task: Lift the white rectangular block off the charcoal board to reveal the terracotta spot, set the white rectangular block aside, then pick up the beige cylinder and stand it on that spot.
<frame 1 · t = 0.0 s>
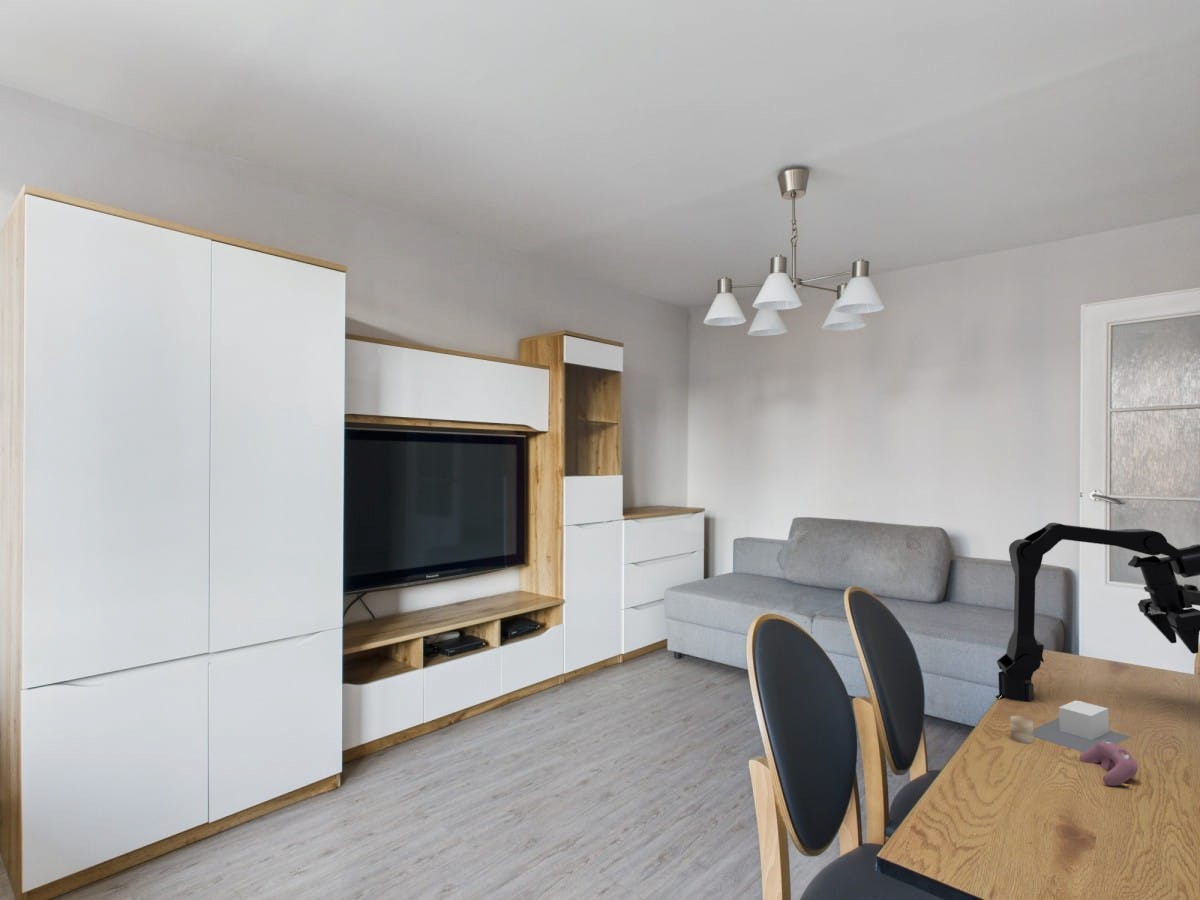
hand: (1184, 647, 150), 15 cm above the table, tool pointing down, fingers open, 9 cm apart
board: (1076, 738, 137), on the table
beige cylinder: (1022, 743, 135), on the table
white rectangular block: (1084, 731, 139), point 1 cm above the table, touching board
video game controller: (1108, 777, 120), on the table
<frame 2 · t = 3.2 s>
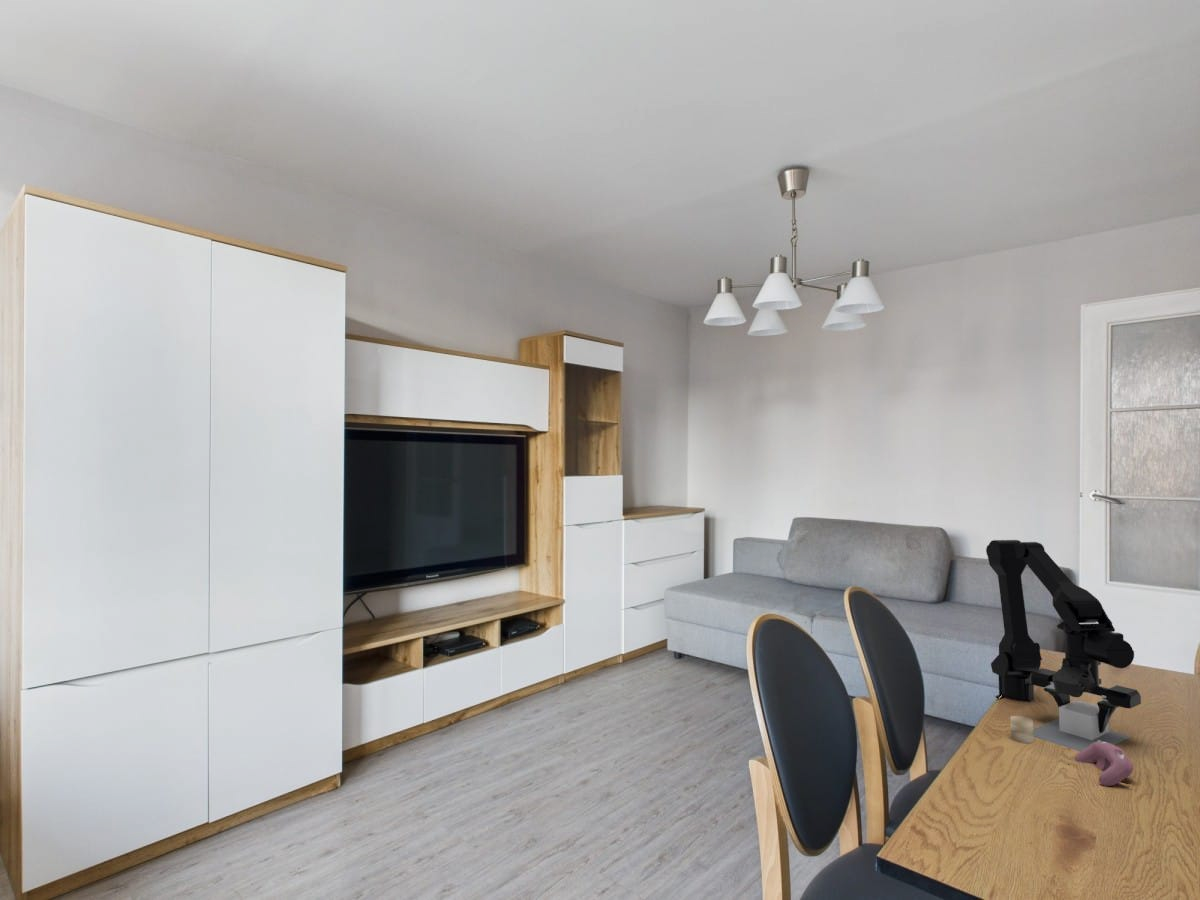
hand: (1084, 727, 139), 2 cm above the table, tool pointing down, fingers closed on white rectangular block, 6 cm apart
white rectangular block: (1084, 731, 139), point 1 cm above the table, touching board, gripper
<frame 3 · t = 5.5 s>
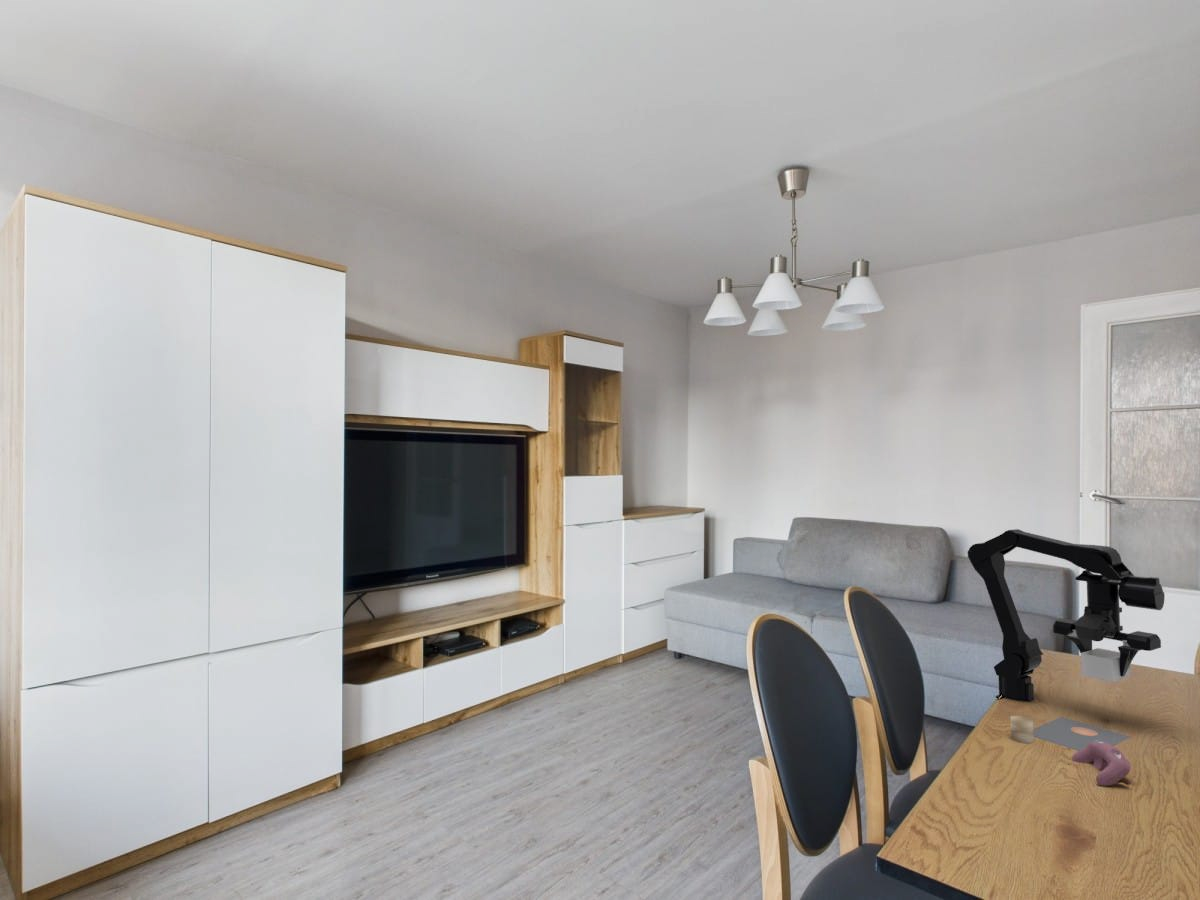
hand: (1105, 672, 145), 12 cm above the table, tool pointing down, fingers closed on white rectangular block, 6 cm apart
white rectangular block: (1105, 676, 145), point 11 cm above the table, touching gripper
when the fingers open (2 cm above the table, at t = 8.0 s): white rectangular block drops 1 cm, on the table.
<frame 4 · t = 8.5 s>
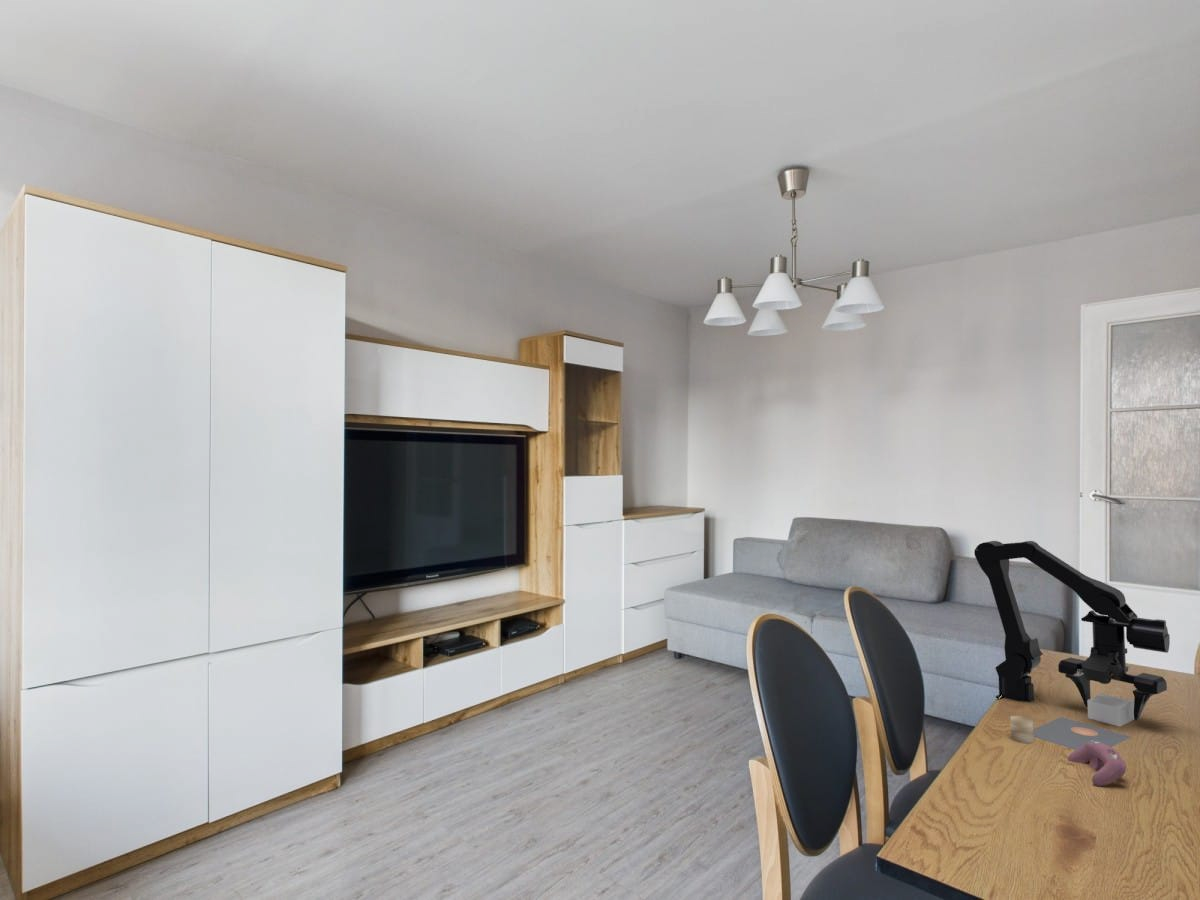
hand: (1111, 713, 146), 2 cm above the table, tool pointing down, fingers open, 9 cm apart
white rectangular block: (1111, 722, 146), on the table
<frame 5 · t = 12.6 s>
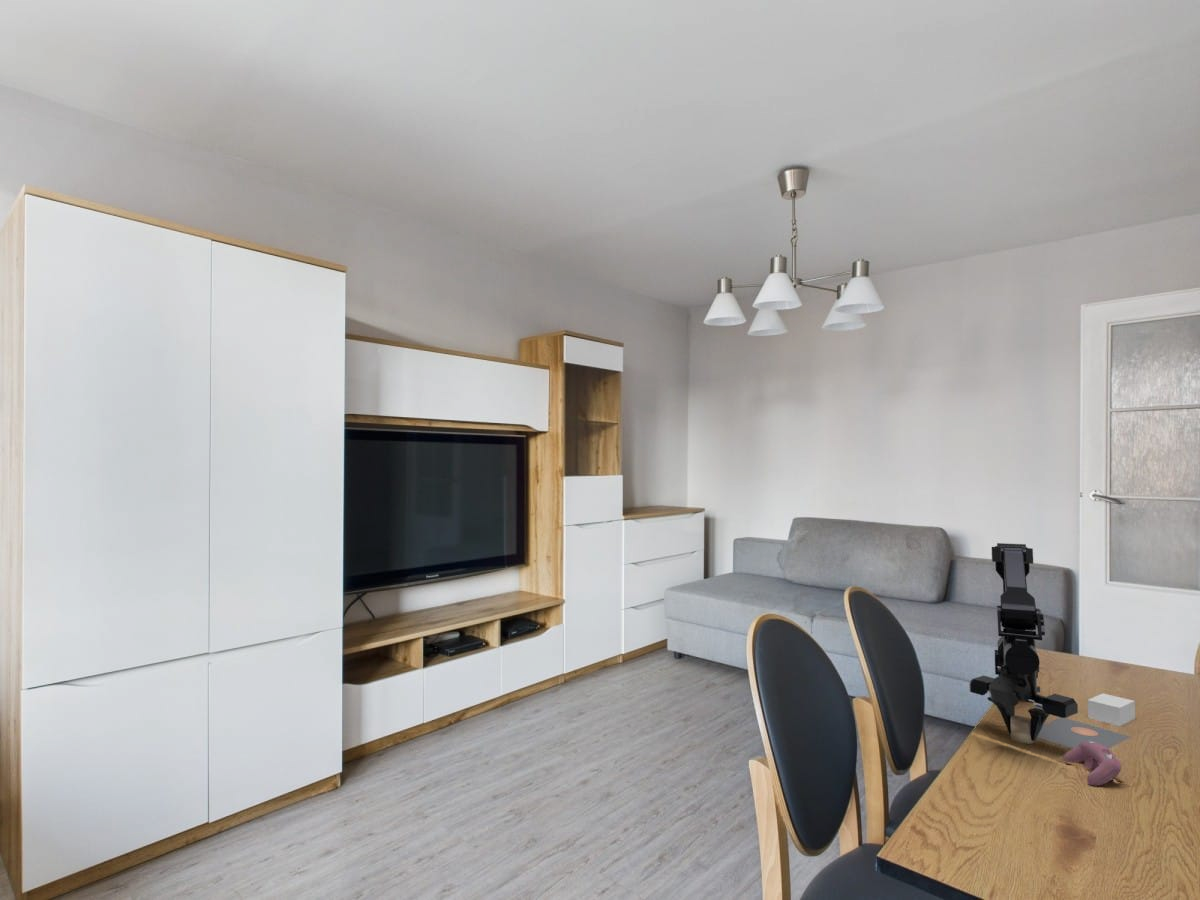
hand: (1022, 736, 135), 1 cm above the table, tool pointing down, fingers closed on beige cylinder, 4 cm apart
beige cylinder: (1022, 743, 135), on the table, touching gripper
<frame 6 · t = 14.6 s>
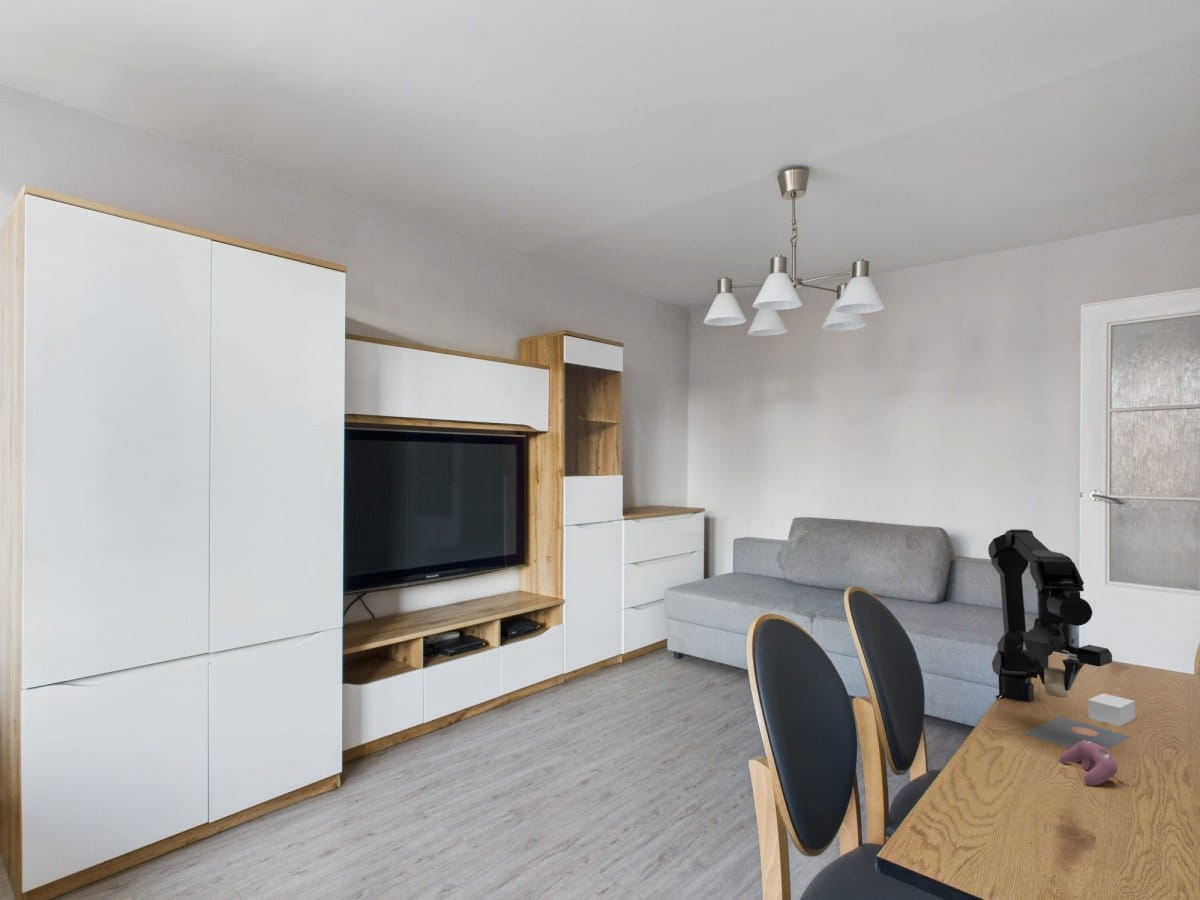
hand: (1056, 687, 138), 11 cm above the table, tool pointing down, fingers closed on beige cylinder, 4 cm apart
beige cylinder: (1056, 693, 138), point 9 cm above the table, touching gripper
when the fingers open (3 cm above the table, at t = 16.8 s): beige cylinder drops 1 cm, resting on board.
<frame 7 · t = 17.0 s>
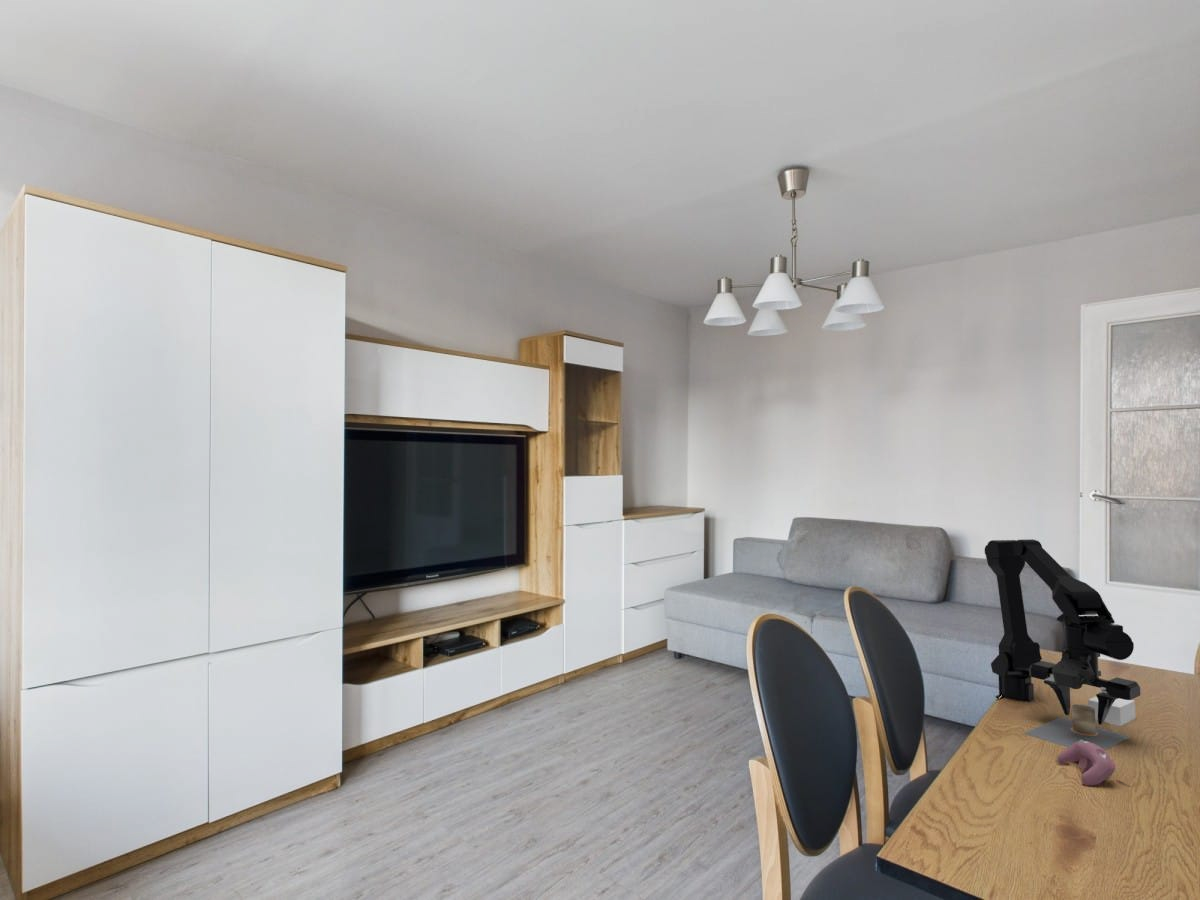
hand: (1083, 719, 139), 3 cm above the table, tool pointing down, fingers open, 6 cm apart
beige cylinder: (1084, 731, 139), point 1 cm above the table, touching board
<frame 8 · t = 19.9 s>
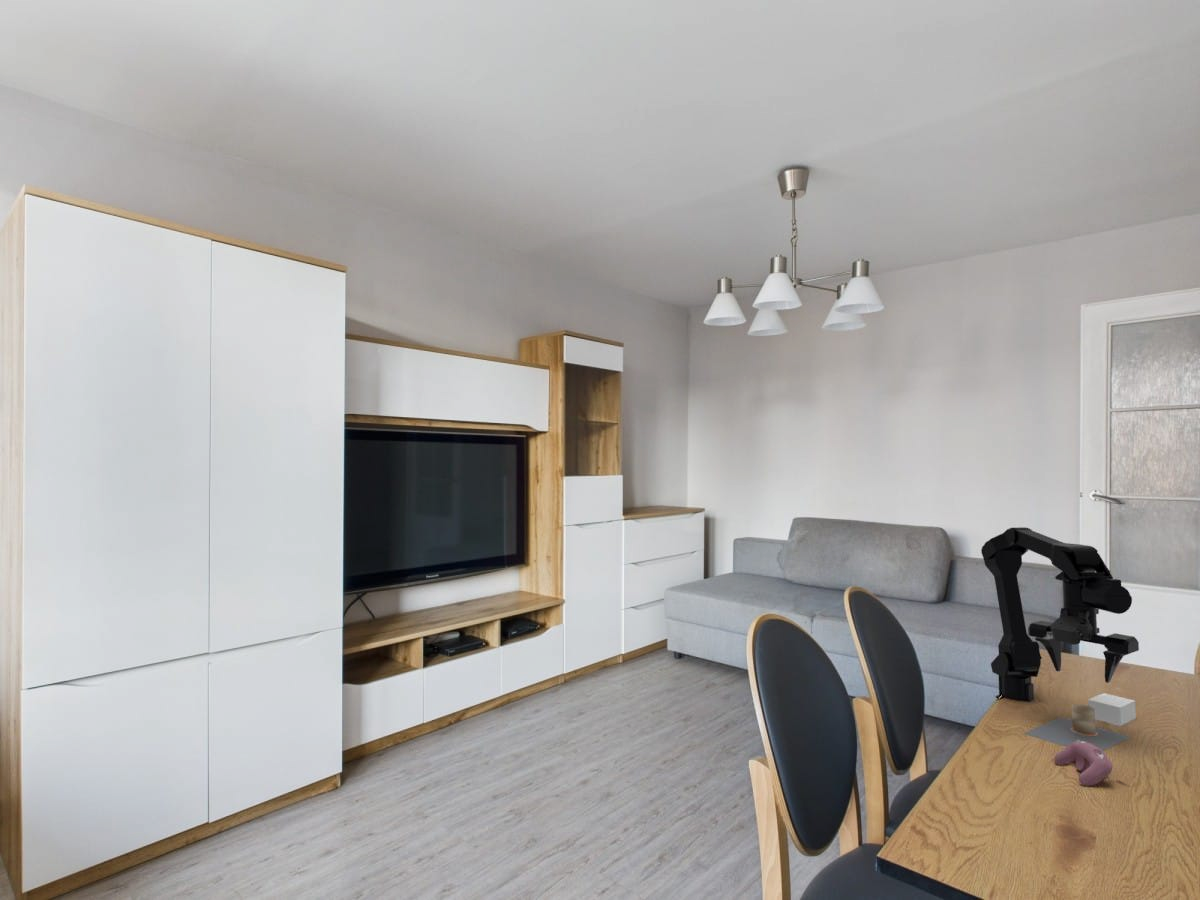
hand: (1082, 676, 139), 12 cm above the table, tool pointing down, fingers open, 9 cm apart
at the end: beige cylinder 0.0 cm from the target spot on the board, point 0.8 cm above the board's base; beige cylinder tilted 0°; white rectangular block touching table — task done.
